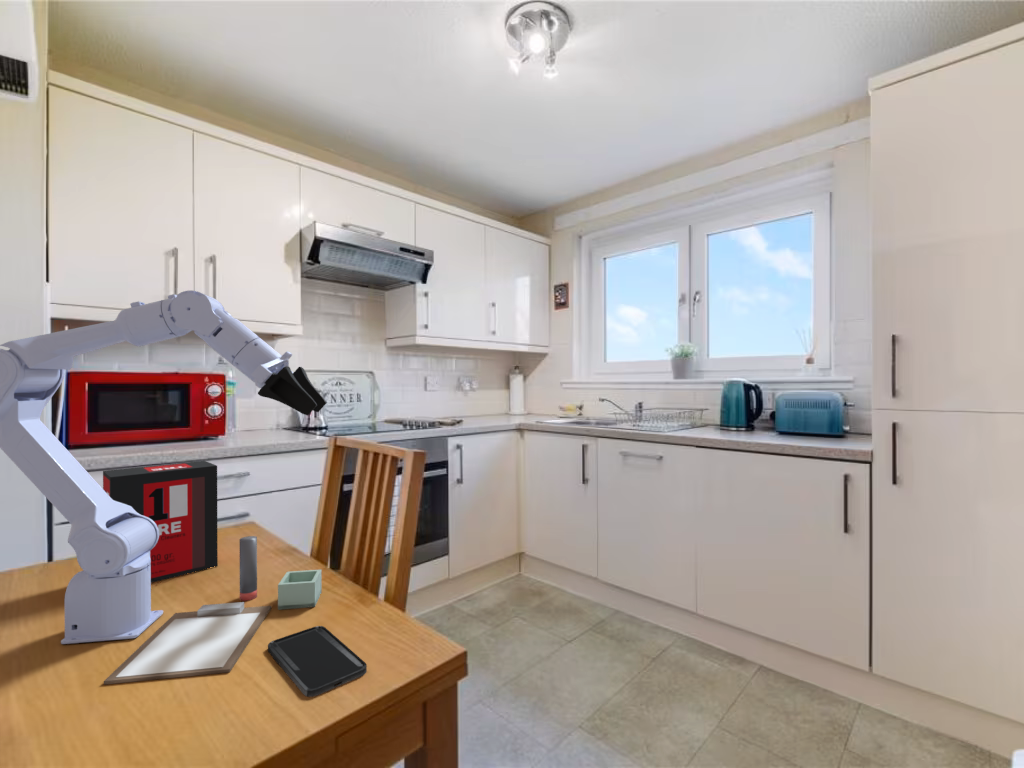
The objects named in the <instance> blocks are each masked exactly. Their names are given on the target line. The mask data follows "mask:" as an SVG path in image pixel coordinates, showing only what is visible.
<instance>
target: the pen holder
mask: <svg viewBox="0 0 1024 768" xmlns="http://www.w3.org/2000/svg"><path fill="white" fill-rule="evenodd" d="M322 580H323V579H322V568H321V569H310V570H309V569H308V570H306V569H305V570H293V571H286V573H285V574H284V576H283V577H282V578H281V580H280V581H279V582H278V584H277V610H290V609H304V608H316V605H317V603H318V601H319V599H320V596H321V595H320V594H322V586H323V585H322Z"/></svg>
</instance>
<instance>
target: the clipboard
mask: <svg viewBox="0 0 1024 768" xmlns="http://www.w3.org/2000/svg"><path fill="white" fill-rule="evenodd" d="M271 609H272V605H265V606H264V605H262V606H251V607H247V606H246V607H245V601H242V602H241V601H240V602H228V603H227V602H226V603H212V604H202V605H201V606H200V608H198V610H196V611H185V612H182V611H181V612H174V614H173V615H172V616H171V617H169V618H168V620H166V621H165V622H164V623H163V624H162V625H161V626H160V627H159V628H158V629H157V630H156V631H155V632H154V633H153V634H151V636H150V637H148V638H147V640H146V641H144V642H143V643H142V644H141V645H140V646H139V647H137V649H136V650H135V651H134V652H132V654H131V655H130V656H129V657H127V658H126V660H124V662H122V663H121V664H120V665H119V666H118V667H117V668H115V670H114V671H113V672H112V673H111V674H109V675H108V676H107V677H106V679H104V681H103V685H113V684H122V683H123V684H124V683H135V682H141V681H142V682H144V681H154V680H164V679H176V678H183V677H193V676H195V677H196V676H203V675H204V676H205V675H206V676H207V675H214V674H226V673H230V672H231V671H232V670H233V668H234V666H235V665H236V663H237V661H238V660H239V659H240V657H241V656H242V654H243V652H244V651H245V649H246V648H247V647H248V645H249V643H250V642H251V640H252V639H253V637H254V635H255V634H256V632H257V631H258V630H259V629H260V627H261V625H262V623H263V621H264V620H266V617H267V616H268V614H269V613H270V612H271Z"/></svg>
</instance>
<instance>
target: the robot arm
mask: <svg viewBox="0 0 1024 768" xmlns="http://www.w3.org/2000/svg"><path fill="white" fill-rule="evenodd" d="M192 331H194V332H193V333H194V334H195V335H196V336H197V337H198V338H200V339H201V340H203V341H204V342H205V343H206V344H207V346H208V347H210V348H211V350H213V351H214V352H216V353H217V354H218V355H220V357H222V359H224V360H226V362H228V363H229V364H230V365H232V366H233V367H235V369H237V370H238V371H239V372H240V373H242V374H243V375H244V376H245V377H247V378H248V379H249V380H251V381H252V382H253V383H254V385H255V386H256V387H257V388H258V389H259V390H258V391H257V395H259V397H263V398H267V399H271V400H274V401H277V402H279V403H282V404H283V405H286V406H287V407H290V408H292V410H295V411H297V412H299V413H301V414H303V415H305V416H309V415H310V414H311V413H312V412H316V413H319V412H320V411H321V410H322V409H323V407H324V406H325V405H326V404H327V401H326V399H324V397H323V396H322V394H320V393H319V391H318V390H317V389H316V388H315V387H314V385H313V384H312V382H311V381H310V379H309V377H308V375H307V372H306V370H305V369H304V367H302V366H298V367H297V368H296V370H295V371H292V369H291V367H290V365H289V363H290V359H291V357H292V356H293V353H292V352H290V351H285V352H284V353H283V354H281V353H280V352H278V351H277V350H276V349H274V348H273V347H272V346H271V345H270V344H268V343H267V342H266V341H265V340H263V338H261V337H260V336H259V335H258V334H256V333H255V332H254V331H253V330H251V329H250V328H249V327H247V325H245V324H244V323H243V322H242V321H240V320H239V319H237V318H236V317H233V315H232V314H231V313H230V312H228V311H227V310H225V308H224V306H223V304H222V303H221V302H220V301H219V300H218V299H216V298H215V297H213V296H209V295H207V294H205V293H203V292H200V291H197V290H189V289H188V290H185V291H184V290H183V291H182V292H180V293H178V294H174V293H173V294H169V295H167V298H165V299H161V300H158V301H153V302H148V303H145V302H144V301H143V302H142V301H139V300H138V301H133V302H131V303H130V307H128V308H124V309H122V310H121V311H119V313H118V315H117V316H116V318H115V320H111V321H105V322H100V323H96V324H90V325H86V326H81V327H76V328H70V329H65V330H60V331H56V332H55V331H54V332H50V333H49V332H48V333H45V334H39V335H35V336H29V337H23V338H20V339H15V340H10V341H7V342H4V343H2V344H0V347H5V348H8V350H6V349H4V348H0V450H2V451H3V453H4V454H6V456H7V457H8V458H9V459H10V461H12V462H13V463H14V464H15V465H16V467H17V468H18V469H19V470H20V471H21V472H22V474H24V475H25V476H26V478H27V479H28V480H30V482H31V483H32V484H33V485H34V486H35V487H36V488H37V489H38V491H40V493H42V495H43V496H44V497H45V498H46V499H47V500H48V501H49V502H50V503H51V504H52V505H53V506H54V507H55V509H56V510H57V512H59V513H60V515H62V516H63V518H64V519H66V520H67V522H69V524H70V525H71V526H70V527H71V528H70V531H69V534H68V536H67V543H68V544H69V545H70V546H71V547H72V549H73V550H74V552H75V555H76V559H77V560H76V561H77V563H78V566H79V567H80V569H82V570H80V571H78V572H77V573H75V574H74V575H73V576H72V578H71V579H70V580H69V582H68V585H67V586H66V591H65V593H64V638H62V639H61V640H60V644H61V645H66V644H67V645H69V644H79V643H92V642H93V643H94V642H105V641H116V640H118V641H119V640H128V639H129V640H130V639H135V638H138V637H139V636H140V635H141V634H143V632H145V631H146V630H147V629H148V628H149V627H150V626H151V625H152V624H153V623H154V622H156V621H157V620H158V619H159V618H160V617H161V616H162V615H164V610H163V609H159V610H152V593H151V592H152V590H151V589H152V588H151V587H152V585H151V584H152V583H151V558H150V550H152V549H153V548H154V547H155V545H156V544H157V542H158V539H159V529H158V527H157V525H156V523H155V522H154V521H153V520H152V519H150V518H148V517H146V516H143V515H141V514H139V513H137V512H136V511H135V510H134V509H133V508H132V507H131V506H129V505H126V504H123V503H120V502H117V501H114V500H112V499H111V497H110V496H109V495H108V494H107V493H106V492H105V491H104V490H103V487H101V485H100V484H99V483H98V482H97V481H96V480H95V478H93V477H92V476H91V474H90V473H89V472H88V471H87V470H86V469H85V468H84V466H83V465H81V463H80V462H79V461H78V460H77V458H75V457H74V455H73V454H72V453H71V452H70V451H69V450H68V449H67V448H66V447H65V445H63V443H62V442H61V441H60V440H59V439H58V438H57V437H56V436H55V435H54V433H53V432H52V431H51V430H50V429H49V428H48V427H47V426H46V424H45V423H44V422H43V421H42V420H41V416H42V412H43V410H44V409H45V408H46V406H47V404H48V403H49V401H50V400H51V399H52V398H53V396H54V395H55V393H56V392H57V390H58V389H59V388H60V386H61V384H62V383H63V381H64V379H65V376H66V375H65V374H66V373H65V370H67V371H70V370H72V368H73V364H74V359H75V357H77V356H80V355H83V354H87V353H90V352H94V351H97V350H101V349H104V348H108V347H111V346H115V345H118V344H121V343H125V342H126V343H129V344H131V345H133V346H135V347H144V346H148V345H152V344H156V343H160V342H164V341H169V340H171V339H176V338H180V337H183V336H186V335H187V334H189V333H190V332H192Z"/></svg>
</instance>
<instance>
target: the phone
mask: <svg viewBox="0 0 1024 768" xmlns="http://www.w3.org/2000/svg"><path fill="white" fill-rule="evenodd" d="M267 652H268V654H270V656H271V657H272V658H273V660H274V661H275V662H276V664H277V665H279V667H280V668H281V669H282V670H283V671H284V672H285V674H286V675H287V676H288V677H289V679H291V681H292V683H294V685H295V686H296V687H297V689H299V691H300V692H301V694H302V695H304V696H305V697H307V698H312V697H316V696H320V695H321V694H324V693H327V692H328V691H332V690H333V689H336V688H337V687H340V686H342V685H345V684H347V683H349V682H351V681H354V680H356V679H358V678H361V677H362V676H365V674H367V672H368V671H367V667H368V666H367V663H366V662H365V661H364V660H363V659H362V658H361V657H359V656H358V655H357V654H356V653H355V652H354V651H352V649H350V648H349V647H348V646H347V645H346V644H344V642H342V640H340V639H339V638H338V637H336V636H335V634H333V633H332V632H331V631H330V630H328V628H326V627H325V626H323V625H317V626H313V627H309V628H306V629H304V630H300V631H298V632H294V633H291V634H289V635H286V636H284V637H283V636H282V637H280V638H276V639H275V640H272V641H270V642H269V643H268V645H267Z"/></svg>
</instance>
